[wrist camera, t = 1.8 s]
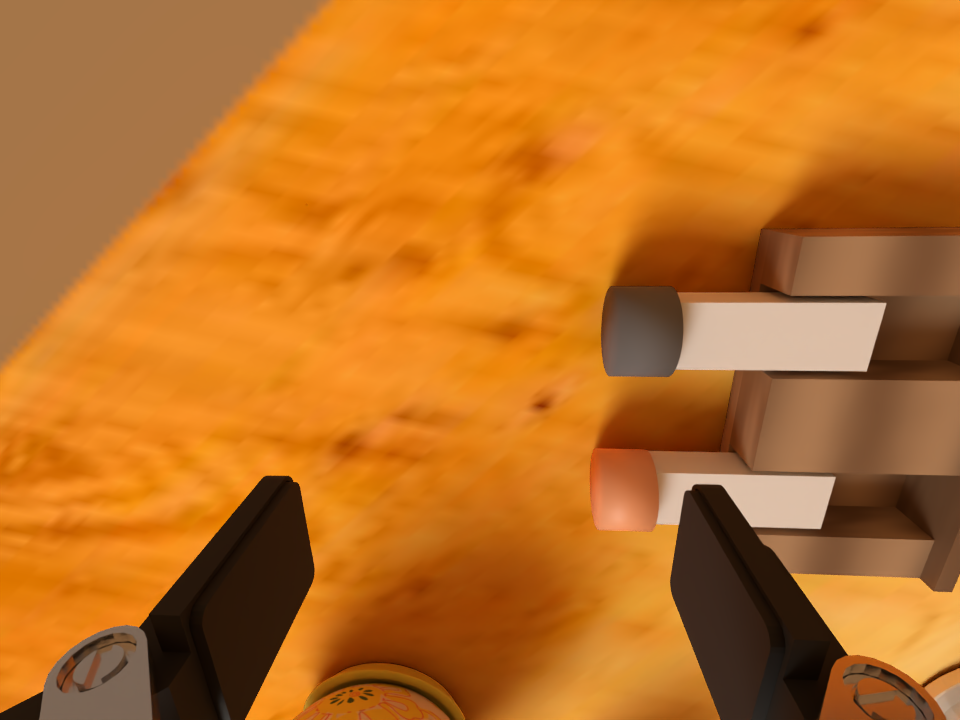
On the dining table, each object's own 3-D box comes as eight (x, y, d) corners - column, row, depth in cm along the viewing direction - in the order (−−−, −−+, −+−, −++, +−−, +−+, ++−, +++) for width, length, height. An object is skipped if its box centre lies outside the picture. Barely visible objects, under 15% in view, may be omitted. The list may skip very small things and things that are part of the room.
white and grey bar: (845, 278, 26) (914, 297, 22) (824, 359, 28) (884, 394, 23) (605, 278, 27) (623, 297, 22) (598, 358, 29) (615, 390, 24)
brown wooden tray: (996, 226, 25) (1106, 237, 20) (887, 532, 32) (951, 592, 27) (761, 229, 26) (816, 239, 21) (705, 526, 33) (737, 584, 28)
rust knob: (804, 438, 30) (856, 483, 25) (788, 502, 31) (834, 555, 27) (592, 434, 30) (606, 477, 26) (588, 496, 32) (600, 547, 28)
